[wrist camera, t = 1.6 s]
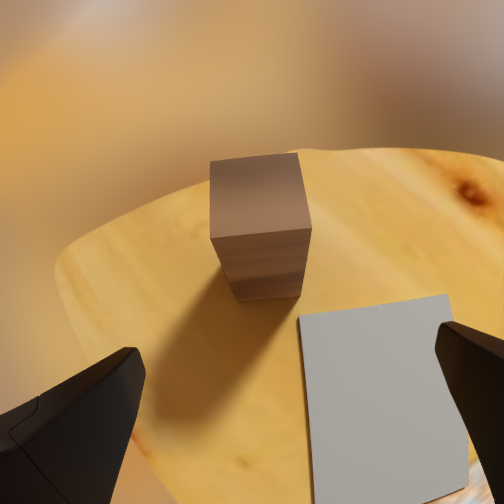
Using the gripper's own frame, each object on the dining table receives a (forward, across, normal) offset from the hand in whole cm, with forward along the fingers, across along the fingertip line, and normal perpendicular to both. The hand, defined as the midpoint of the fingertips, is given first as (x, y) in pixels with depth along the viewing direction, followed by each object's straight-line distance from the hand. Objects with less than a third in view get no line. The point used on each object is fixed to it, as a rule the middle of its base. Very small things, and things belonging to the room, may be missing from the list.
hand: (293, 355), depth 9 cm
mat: (+7, -7, +12) cm, 16 cm away
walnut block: (+15, +1, +3) cm, 16 cm away
